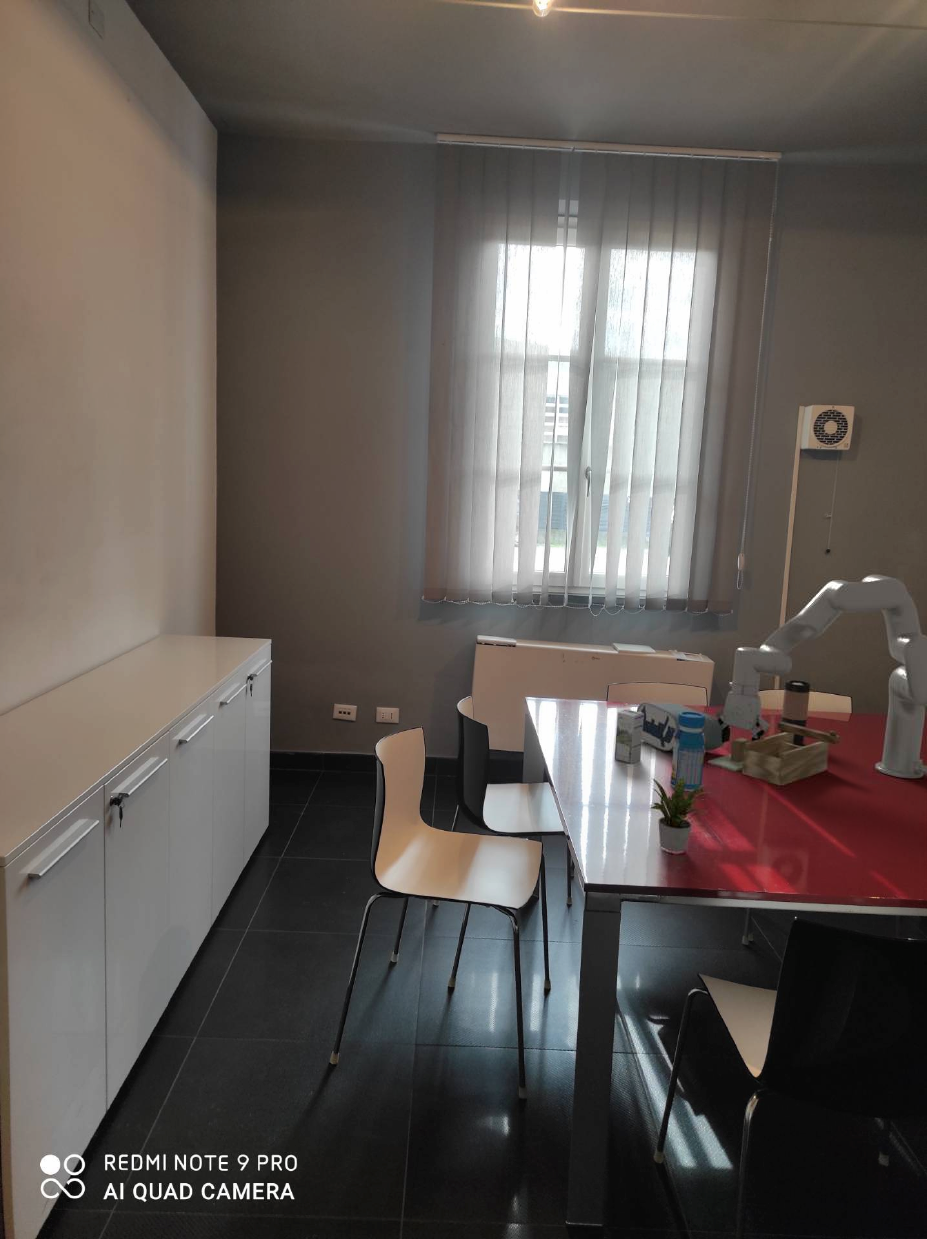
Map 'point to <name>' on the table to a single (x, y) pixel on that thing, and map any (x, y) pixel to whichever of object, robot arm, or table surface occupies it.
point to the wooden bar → (809, 732)
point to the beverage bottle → (689, 750)
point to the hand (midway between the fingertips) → (739, 745)
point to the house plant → (676, 816)
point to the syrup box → (629, 736)
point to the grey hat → (674, 726)
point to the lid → (732, 756)
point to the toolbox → (783, 759)
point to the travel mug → (796, 706)
